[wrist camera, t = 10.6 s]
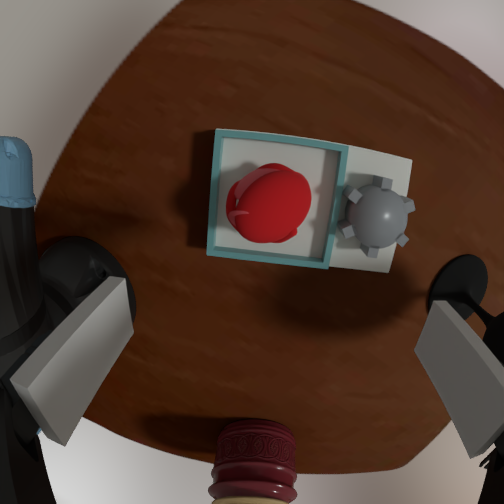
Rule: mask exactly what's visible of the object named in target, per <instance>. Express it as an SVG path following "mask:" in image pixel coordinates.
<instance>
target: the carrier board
mask: <svg viewBox="0 0 504 504" xmlns="http://www.w3.org/2000/svg"><path fill="white" fill-rule="evenodd" d="M269 163H279V164H282V165H285V166H287V167H288V168H290V169H292V170H294V171H295V172H299V173H301V174H302V175H303V176H304V177H305V178H306V179H307V181H308V183H309V186H310V190H311V196H312V199H311V206H310V209H309V212H308V214H307V216H306V218H305V219H304V221H303V222H302V223H301V225H300V226H299V227H298V228H297V234H296V235H295V236H294V237H292V238H290V239H289V240H287V241H285V242H282V243H254V242H251V241H248V240H246V239H245V238H243V237H242V236H241V235H240V233H239V232H238V231H237V230H236V229H235V228H234V227H233V226H232V225H231V223H230V222H229V220H228V218H227V215H226V200H227V196H228V192H229V190H230V188H231V187H232V185H233V184H234V183H236V182H237V181H239V180H241V179H242V178H243V177H244V176H246V175H247V174H249V173H250V172H252V171H254V170H256V169H257V168H259V167H261V166H263V165H265V164H269ZM411 166H412V160H410V159H406V158H402V157H398V156H394V155H390V154H386V153H382V152H378V151H374V150H369V149H365V148H360V147H355V146H350V145H345V144H340V143H334V142H329V141H323V140H317V139H310V138H304V137H297V136H289V135H281V134H273V133H264V132H254V131H242V130H229V129H217V130H215V141H214V152H213V163H212V176H211V189H210V203H209V219H208V236H207V255H209V256H217V257H226V258H234V259H243V260H251V261H260V262H268V263H277V264H286V265H294V266H303V267H312V268H321V269H328V268H329V266H331V267H340V268H349V269H358V270H367V271H376V272H385V273H389V270H390V266H391V263H392V259H393V255H394V251H395V247H396V243H398V244H399V245H400V246H402V247H403V246H404V245H405V243H406V242H407V241H408V240H409V239H408V238H407V237H406V236H405V235H404V234H403V232H404V230H405V228H406V224H407V213H410V212H412V211H415V206H414V202H413V200H412V199H409V198H407V197H406V196H407V191H408V185H409V179H410V173H411ZM238 201H239V200H238V199H237V200H236V206H237V204H238Z"/></svg>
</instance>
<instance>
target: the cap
mask: <svg viewBox="0 0 504 504" xmlns="http://www.w3.org/2000/svg"><path fill="white" fill-rule="evenodd" d="M237 199H238V200H239V201H238V204H237V206H236V200H237ZM311 199H312V196H311V190H310V186H309V183H308V181H307V179H306V178H305V177H304V176H303V175H302V174H301V173H299V172H295V171H294V170H292V169H290V168H288V167H287V166H285V165H282V164H279V163H269V164H265V165H263V166H261V167H259V168H257V169H256V170H254V171H252V172H250V173H249V174H247V175H246V176H244V177H243V178H242V179H241V180H239V181H237V182H236V183H234V184H233V185H232V187H231V188H230V190H229V192H228V196H227V200H226V215H227V218H228V220H229V222H230V223H231V225H232V226H233V227H234V228H235V229H236V230H237V231H238V232H239V233H240V235H241V236H242V237H243V238H245V239H246V240H248V241H251V242H254V243H282V242H285V241H287V240H289V239H290V238H292V237H294V236H295V235H296V234H297V228H298V227H299V226H300V225H301V223H302V222H303V221H304V219H305V218H306V216H307V214H308V212H309V209H310V206H311Z"/></svg>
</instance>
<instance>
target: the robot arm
mask: <svg viewBox="0 0 504 504" xmlns="http://www.w3.org/2000/svg"><path fill="white" fill-rule="evenodd" d="M32 173H33V172H32V154H31V150H30V148H29V147H28V145H27V144H26V143H25V142H24V141H23V140H22V139H20V138H17V137H8V136H0V504H56V501H55V498H54V495H53V492H52V488H51V485H50V481H49V478H48V474H47V470H46V466H45V462H44V458H43V454H42V449H41V444H40V440H39V437H38V434H39V432H40V431H41V430H42V431H43V433H44V434H45V435H46V437H47V438H49V439H51V440H53V441H55V442H57V443H59V444H61V445H63V446H66V444H67V442H68V440H69V439H70V437H71V435H72V433H73V431H74V430H75V428H76V426H77V424H78V422H79V421H80V419H81V417H82V416H83V414H84V412H85V410H86V409H87V407H88V405H89V404H90V402H91V400H92V399H93V397H94V395H95V394H96V392H97V390H98V389H99V387H100V385H101V384H102V382H103V380H104V379H105V377H106V375H107V374H108V372H109V371H110V369H111V367H112V366H113V364H114V363H115V361H116V359H117V358H118V356H119V355H120V353H121V352H122V350H123V348H124V347H125V345H126V344H127V342H128V341H129V339H130V338H131V336H132V335H133V333H134V331H133V326H132V325H133V322H134V319H135V315H136V301H135V295H134V291H133V288H132V285H131V283H130V281H129V278H128V276H127V275H126V273H125V271H124V269H123V268H122V267H121V265H120V264H119V262H118V261H117V260H116V259H115V258H114V257H113V256H112V255H111V254H110V253H109V252H108V251H107V250H106V249H105V248H103V247H102V246H101V245H99V244H97V243H96V242H94V241H92V240H89V239H87V238H83V237H67V238H64V239H62V240H60V241H58V242H57V243H55V244H53V245H52V246H50V247H49V248H48V249H47V250H46V251H45V252H44V253H43V255H42V256H41V258H40V260H39V261H38V253H37V244H36V234H35V220H34V205H36V197H35V195H34V193H33V174H32ZM414 351H415V353H416V355H417V356H418V358H419V360H420V362H421V363H422V365H423V367H424V368H425V370H426V372H427V374H428V376H429V377H430V379H431V381H432V383H433V385H434V386H435V388H436V390H437V392H438V394H439V396H440V398H441V399H442V401H443V403H444V405H445V407H446V409H447V411H448V413H449V415H450V417H451V419H452V421H453V423H454V425H455V427H456V429H457V431H458V433H459V435H460V438H461V440H462V442H463V444H464V446H465V448H466V450H467V453H468V455H469V457H470V459H471V458H473V457H475V456H478V455H480V454H483V453H484V452H485V451H486V450H487V449H488V448H489V447H490V446H491V445H492V444H493V443H494V444H495V446H496V448H495V449H494V450H493V451H492V452H491V453H490V454H489V455H488V456H487V457H486V458H485V459H484V460H483V461H482V462H481V463H480V465H479V467H482V466H483V464H485V463H486V462H487V461H488V460H489V463H488V464H487V465H486V466H485V467H484V468H485V469H487V473H486V477H485V481H484V484H483V488H482V492H481V495H480V498H479V501H478V504H504V365H503V363H502V362H501V361H499V360H498V359H497V358H496V357H495V356H494V354H493V353H492V352H491V351H490V350H489V348H488V347H487V346H486V345H485V344H484V342H483V341H482V340H481V339H480V338H479V337H478V335H477V334H476V333H475V332H474V331H473V330H472V329H471V327H470V326H469V325H468V324H467V323H466V322H465V321H464V320H463V319H462V317H461V316H460V315H459V314H458V313H457V312H456V311H455V310H454V309H453V308H452V307H451V306H450V305H449V303H448V302H447V301H433V303H432V306H431V309H430V312H429V314H428V317H427V320H426V322H425V325H424V327H423V330H422V332H421V335H420V337H419V340H418V342H417V344H416V347H415V349H414Z"/></svg>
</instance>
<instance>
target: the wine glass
mask: <svg viewBox="0 0 504 504" xmlns="http://www.w3.org/2000/svg"><path fill="white" fill-rule="evenodd" d="M487 282H488V274H487V269H486V266H485V264H484V262H483V261H482V260H481V259H480V258H478V257H477V256H475V255H462V256H460V257H457V258H455V259H454V260H452V261H451V262H450V263H448V264H447V265H446V266H445V267H444V268H443V270H442V271H441V272H440V273H439V275H438V276H437V278H436V280H435V282H434V284H433V286H432V288H431V291H430V295H429V302H428V308H429V312H430V309H431V306H432V303H433V301H447V302H448V303H449V305H450V306H451V307H452V308H453V309H454V310H455V311H456V312H457V313H458V314H459V315H460V316H461V317H462V319H463V320H466V319H467V318H468V317H469V316H470V315H471V314H472V313H473V312H475V313H476V314H477V315H478V316H479V317H480V318H481V319H482V321H483V322H484V324H485V325H486V328H487V329H486V331H485V334H484V337H483V340H482V341H483V342H484V344H485V345H486V346H487V347H488V348H489V350H490V351H491V352H492V353H493V354H494V356H495V357H496V358H497V359H498V360H499V361H501V362H502V363H503V365H504V312H502V313H501V314H499V315H498V316H496V317H493V316H492V315H490V314H489V313H487V312H486V311H485V310H484V309H483V308H482V307H480V306H479V304H480V303H481V301H482V299H483V297H484V294H485V291H486V288H487Z"/></svg>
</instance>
